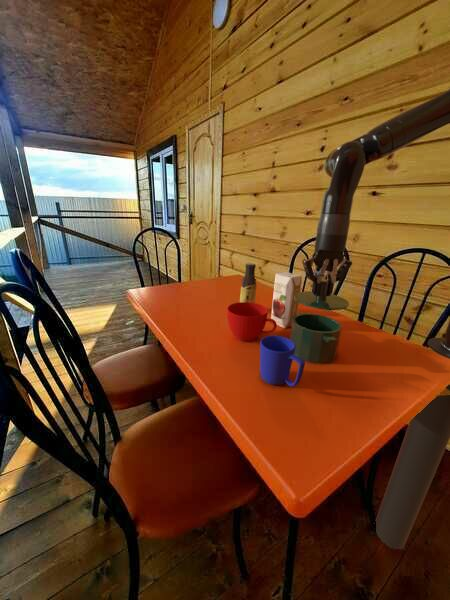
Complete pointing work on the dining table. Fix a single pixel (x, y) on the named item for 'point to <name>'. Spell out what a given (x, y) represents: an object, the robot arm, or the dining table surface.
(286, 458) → the dining table surface
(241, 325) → the ceramic cup
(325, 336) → the pot
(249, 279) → the sauce bottle
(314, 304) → the lid
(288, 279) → the juice carton
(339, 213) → the robot arm
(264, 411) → the dining table surface
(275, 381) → the mug
